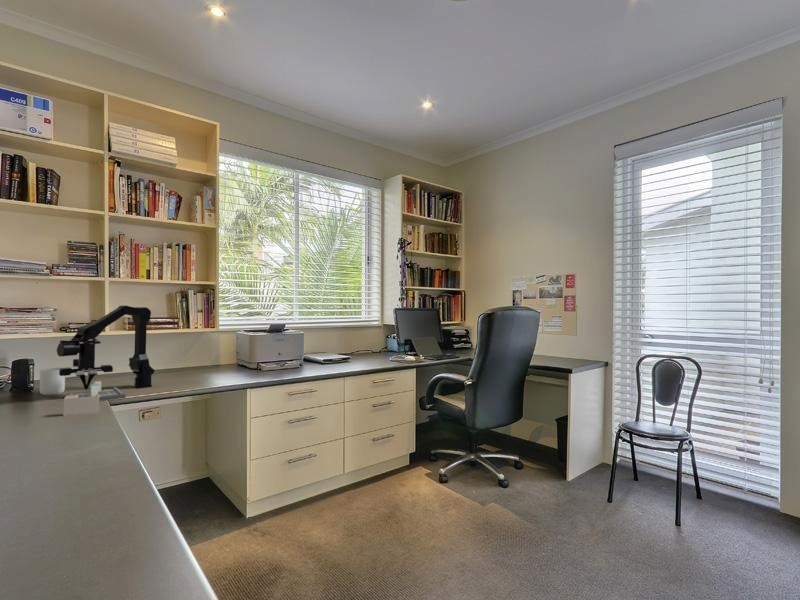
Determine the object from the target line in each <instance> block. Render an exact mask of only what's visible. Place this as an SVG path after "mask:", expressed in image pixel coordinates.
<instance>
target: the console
mask: <svg viewBox="0 0 800 600" xmlns="http://www.w3.org/2000/svg"><path fill="white" fill-rule="evenodd" d="M98 393H100V394H99V395H98V396H99V402H102V401H101V400H103V401H108V400H107V399H111V400H115V399H116V400H117V399H125V398H126V394H125V393H124V392H123V391H122V390H121V389H119V387H113V388H105V389H101V391H99V392H98ZM67 395H78V397H77V398H79V397H93V396H91V395H90V390H88V391H87V390H85V391H79V392H72V391H69V392H68V393H65V397H66V396H67Z"/></svg>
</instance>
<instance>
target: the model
mask: <svg viewBox="0 0 800 600" xmlns="http://www.w3.org/2000/svg"><path fill="white" fill-rule="evenodd" d="M99 394H100V393H98V394H97V395H96V396H93V397H79V398H77V397H78V395H67V396H66V395H65V396H64V398H63V413H62V414H63V417H67V416H66V415H69V416H80V415H89V414H98V413H100V401H99V396H98V395H99ZM79 414H80V415H79Z"/></svg>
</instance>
